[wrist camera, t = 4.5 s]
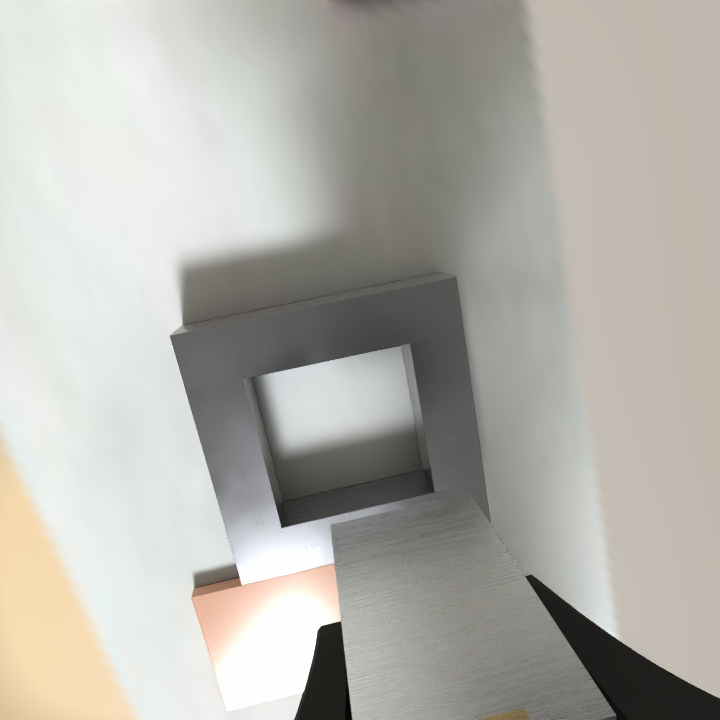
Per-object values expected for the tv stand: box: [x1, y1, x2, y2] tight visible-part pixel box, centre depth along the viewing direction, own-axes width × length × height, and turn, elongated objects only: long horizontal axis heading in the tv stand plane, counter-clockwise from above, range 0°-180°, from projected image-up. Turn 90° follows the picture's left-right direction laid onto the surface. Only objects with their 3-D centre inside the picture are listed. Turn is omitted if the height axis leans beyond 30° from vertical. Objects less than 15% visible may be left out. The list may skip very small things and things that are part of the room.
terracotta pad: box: [191, 563, 341, 711], centre depth 23 cm, size 6×6×1 cm
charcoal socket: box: [170, 273, 491, 585], centre depth 20 cm, size 10×10×2 cm
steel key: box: [330, 493, 616, 720], centre depth 11 cm, size 5×4×8 cm
